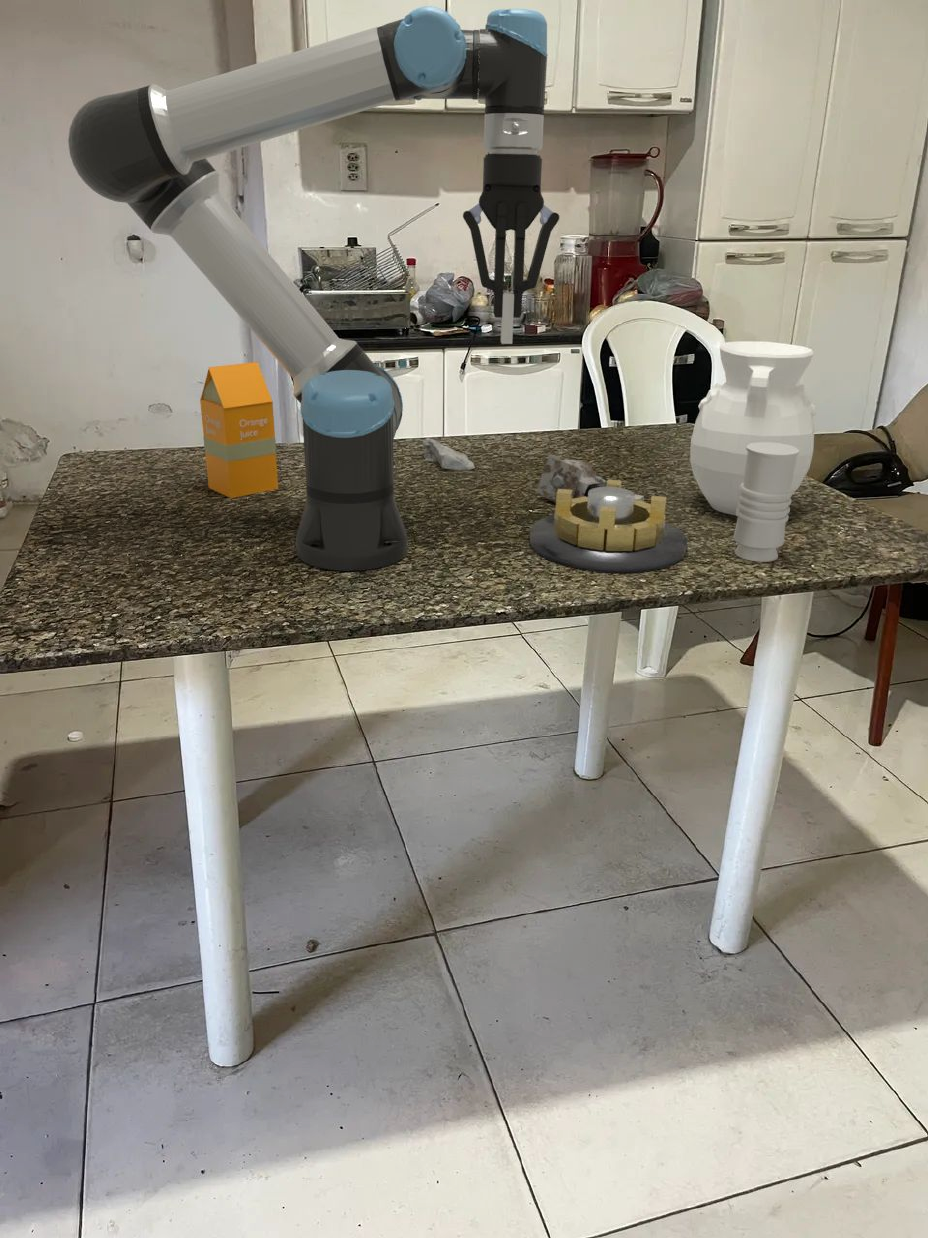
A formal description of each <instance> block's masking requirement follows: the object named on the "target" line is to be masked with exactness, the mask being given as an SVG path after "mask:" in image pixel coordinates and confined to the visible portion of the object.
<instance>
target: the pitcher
mask: <svg viewBox="0 0 928 1238" xmlns="http://www.w3.org/2000/svg"><path fill="white" fill-rule="evenodd" d="M719 351H720V361H721V363H722V366H723V367H722V368H723V371H724V375H725V382H724V383H723V384H720V383H715V384H714V386H713V388H711V389H709V390H708V392H707V394H706V396H705V397H703V399H701V400H700V402H699V404H698V409H699V410H698V411H699V413H698V414H697V417H696V419H695V423H694V426H693V427H694V428H693V431H692V434H691V439H690V449H689V450H690V454H689V462H690V466H691V469H692V474H693V477H694V480H695V481H696V483H697V485H698V487H699V490H700V492H701V493H702V495H703V496H704V497H705V499H706V501H707V502H708V504H709V505H710V506H711V508H712V509H714V510H715V511H717V512H720V513H723V514H726V515H727V514H728V515H732V516H736V509H737V502H738V495H739V488H740V485H741V484H742V483H743V481H744V474H745V467H746V461H747V454H748V451H747V450H746V446H747V445H748V444H751V443H756V442H771V443H781V444H786V445H790V446H793V447H796V448H797V449H799V454H798V455H797V456H796V461H795V467H794V473H793V479H792V485H791V489H792V491H793V493H795V492H796V491H797V490H798V489H799V488H800V487H801V485H802V483H803V481H804V479H805V477H806V476H807V473H808V471H809V470H810V466H811V464H812V459H813V454H814V449H815V448H814V447H815V446H814V444H815V443H814V441H815V427H814V426H815V425H814V416H816V415H817V411H816V409H817V408H816V405H815V404H813V403H812V398H811V396H810V394H809V393H807V392H806V391H805V385H804V383H803V384H798V382H799V381H800V379H801V378H802V376H803V375H804V372H805V371H806V370H807V368H808V367H809V365H810V363H811V361H812V358H813V356H814V354H815V352H814V350H813V349H811V348H809V347H806V346H803V345H797V344H789V343H782V342H775V341H774V342H773V341H755V340H753V341H751V340H750V341H748V340H745V341H744V340H743V341H727V342H723V343H721V345H720V346H719ZM797 384H798V385H797Z"/></svg>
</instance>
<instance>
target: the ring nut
mask: <svg viewBox="0 0 928 1238" xmlns="http://www.w3.org/2000/svg"><path fill="white" fill-rule="evenodd" d="M606 487H617V488H622V480H619V479H616V480H615V479H608V480H607V486H606ZM650 498H651V499H650V503H648V502H645V501H644V502H643V501H638V500H635V499H634V508H633V518H632V524H630V525H615V516H616V507H606V506H601V509H600V518H599V523H593V522H587V521H586V516H587V503H588V497H579V498H573V499H572V490H567V489H558V491H557V496H556V503H555V507H554V514H555V515H554V514H553V515H554V530H555V532H556V535H557V537H559V538H560V539H562V540H564V541H567V542H569V543H571V544H573V545H578V546H579V547H585V548H590V549H596V550H602V551H603V550H604V549H605V550H606V551H632V549H633V550H640V549H644V548H648V547H652V546H655V545H657V544H658V543H659V542H660V541H661V540H662V538H663V537H664V528H665V522H666V520H667V519H666V517H667V516H666V514H665V513H666V505H667V496H661V495H660V496H657V495H651V497H650Z"/></svg>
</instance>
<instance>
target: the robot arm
mask: <svg viewBox="0 0 928 1238" xmlns="http://www.w3.org/2000/svg"><path fill="white" fill-rule="evenodd" d="M547 64H548V22H547V19H546V18H545V16H544V15H543V14H542V13H541V12H539V11H537V10H532V9H526V8H508V9H506V8H505V9H504V8H501V9H495V10H492V11H490V13H488V16H487V19H486V24H485V28H480V29H461V25H460V24H459V23H458V22H457V21H456V19H455V18H454V17H453V16H452V15H451V13H448V12H447V11H446V10H444V9H442V8H440V7H437V6H432V5H430V6H429V5H425V6H421V7H417V8H414V9H413V10H412V11H410V12H409V13H408V14H407V15H405V16H404V18H402V19H398V20H394V21H392V22H389V23H386V24H383V25H381V26H375V27H372V28H369V29H365V30H362V31H358V32H355V33H353V34H349V35H346V36H343V37H339V38H336V39H334V40H330V41H326V42H323V43H320V44H317V45H314V46H310V47H307V48H304V49H300V50H297V51H296V50H295V51H294V52H290V53H286V54H284V55H281V56H277V57H273V58H270V59H268V60H267V59H266V60H264V61H260V62H257V63H254V64H250V65H248V66H244V67H241V68H238V69H236V70H235V69H234V70H231V71H228V72H225V73H222V74H218V75H216V76H213V77H212V76H211V77H209V78H205V79H202V80H199V81H195V82H192V83H189V84H185V85H182V86H180V87H176V88H173V89H172V88H171V89H169V90H167V89H165V88H163V87H161V86H159V85H157V83H153V84H149V85H146V86H144V87H143V86H142V87H139V88H136V89H132V90H126V91H123V92H119V93H118V92H117V93H113V94H106V95H103V96H99V97H96V98H94V99H91V100H89V101H88V102H87V103H85V104H84V105H82V106H81V107H80V109H78V111H77V112H76V113H75V115H74V117H73V119H72V122H71V124H70V128H69V132H68V133H69V134H68V140H67V142H68V150H69V156H70V159H71V163H72V164H73V167H74V168H75V171H76V173H77V174H78V176H79V177H80V178H81V179H82V181H83V182H84V183H85V184H86V185H87V186H88V187H89V188H90V189H91V190H92V191H93V192H95V193H96V194H97V195H99V196H101V197H103V198H106V199H108V200H109V201H113V202H115V203H116V202H117V203H125V204H127V205H128V206H129V207H130V208H131V209H132V211H133V212H134V213H135V214H136V215H137V216H138V217H139V218H140V220H142V222H143V223H144V224H145V226H147V228H148V229H149V230H150V231H151V232H152V233H153V234H158V235H164V236H165V235H166V236H169V237H171V238H172V240H174V242H175V243H176V244H177V245H178V246H179V247H180V249H181V250H182V251H183V252H184V254H185V255H186V256H187V257H188V259H190V260H191V262H193V264H194V265H196V267H197V268H198V269H199V271H200V272H201V273H202V274H203V275H204V277H206V279H207V280H208V281H209V283H210V284H211V285H212V286H213V287H214V288H215V289H216V290H217V292H218V293H219V294H220V295H221V296H222V297H223V299H224V300H225V301H226V302H227V303H228V305H229V306H230V307H231V308H232V309H233V311H234V312H235V313H236V314H237V315H238V316H239V317H240V319H242V321H243V322H244V323H245V324H246V326H247V327H249V329H250V330H251V331H252V332H253V334H254V335H255V336H256V338H258V340H259V341H260V342H261V343H262V344H263V345H264V346H265V347H266V349H267V350H268V351H269V352H270V353H271V355H272V356H273V357H274V358H275V359H276V360H277V361H278V363H279V364H280V365H281V366H282V368H284V369H285V371H286V372H287V373H288V375H290V377H291V378H292V381H293V393H292V394H293V396H294V398H295V399H296V400H297V401H298V402H299V403H300V408H299V409H300V414H301V417H302V431H303V432H302V433H303V434H302V435H303V436H302V437H303V450H304V451H303V452H304V468H305V469H304V470H305V487H306V501H305V503H304V508H303V511H302V515H301V518H300V521H299V525H298V528H297V532H296V536H295V546H296V547H295V549H296V555H297V557H298V559H299V560H300V561H301V562H302V563H305V564H308V565H310V566H313V567H315V568H319V569H325V570H330V571H331V570H332V571H345V572H347V571H350V572H353V571H354V572H355V571H365V570H366V571H367V570H372V569H373V570H374V569H378V568H384V567H387V566H390V565H392V564H395V563H397V562H399V561H400V560H402V559H403V558H405V557H406V555H407V553H408V534H407V531H406V528H405V525H404V521H403V519H402V516H401V513H400V510H399V507H398V505H397V502H396V499H395V490H394V488H395V486H394V482H395V478H394V477H395V475H394V472H395V471H394V468H395V467H394V466H395V465H394V440H395V437H396V433H397V431H398V429H399V428H400V424H401V422H402V419H403V411H404V409H403V408H404V406H403V403H404V402H403V397H402V393H401V392H400V387H399V386H398V383H397V382H396V380H395V379H394V377H393V376H392V375H391V374H390V372H388V371H387V370H385V369H384V368H383V367H381V366H379V364H376V363H374V362H373V360H372V359H371V358H370V357H369V356H368V354H367V353H366V352H365V351H364V350H363V349H362V347H361V346H360V345H359V344H358V342H357V341H356V340H349V339H343V338H339V337H338V335H337V334H336V333H335V332H334V330H333V329H332V328H331V327H330V325H329V324H328V323H327V321H325V320H324V318H323V317H322V316H321V314H320V313H319V312H318V311H317V310H316V309H315V307H314V306H313V305H312V304H311V302H310V301H309V300H308V299H307V297H305V295H304V294H303V293H302V291H301V290H300V289H299V287H297V285H296V284H295V283H294V282H293V281H292V279H291V278H290V277H289V276H288V275H287V273H286V272H285V270H283V268H282V267H281V266H280V265H279V264H278V262H277V261H276V260H275V259H274V258H273V256H272V255H271V254H270V253H269V252H268V250H267V249H266V248H265V247H264V245H263V244H262V243H261V242H260V240H259V239H258V238H257V237H256V236H255V234H254V233H253V232H252V231H251V229H249V227H248V226H247V225H246V224H245V222H244V221H243V220H242V219H241V217H240V216H239V215H238V214H237V213H236V212H235V211H234V209H233V208H232V207H231V206H230V204H229V203H228V201H226V199H225V198H224V197H223V196H222V194H221V193H220V190H219V187H220V186H219V182H220V177H219V176H220V174H219V172H217V170H216V169H215V168H214V167H213V165H212V164H211V163H210V162H209V161H208V158H211V157H215V156H218V155H222V154H225V153H228V152H232V151H234V150H239V149H241V148H245V147H247V146H252V145H254V144H258V143H261V142H265V141H268V140H271V139H274V138H279V137H282V136H284V135H288V134H291V133H294V132H297V131H301V130H302V131H303V130H304V129H307V128H311V127H315V126H318V125H321V124H325V123H328V122H331V121H334V120H338V119H341V118H343V117H344V118H345V117H347V116H350V115H354V114H357V113H360V112H365V111H367V110H371V109H374V108H378V107H381V106H384V105H387V104H390V103H393V102H397V101H403V100H406V99H412V100H416V101H421V100H424V99H425V100H428V99H429V100H474V101H476V100H477V101H478V100H484V103H485V104H484V105H485V106H484V107H485V108H484V128H483V132H484V133H483V136H484V137H483V148H484V149H485V150H488V152H487V154H485V155H484V157H483V169H482V171H483V173H482V174H483V175H482V177H483V179H482V192H481V194H480V196H479V199H478V203H477V204H476V205H475V206H473V207H471V208H470V209H469V210H465V211H464V212H463V213H462V219H463V220H464V222H465V223H466V225H467V227H468V229H469V230H470V235H471V240H472V241H471V242H472V244H473V251H474V254H475V255H474V256H475V259H476V265H477V269H478V274H479V279H480V280H479V281H480V283H481V286H482V287H483V288H485V289H488V290H490V291H491V292H493V306H492V307H493V310H492V312H493V315H494V318H499V319H500V318H501V319H500V320H501V321H500V324H501V325H500V343H501V345H505V344H506V345H508V344H509V345H512V344H513V332H514V319H515V318H516V319H517V318H518V319H520V318H521V316H522V314H523V295H524V293H525V292H526V291H529V290H533V289H535V288H536V287H537V283H538V279H539V277H540V273H541V269H542V266H543V263H544V258H545V255H546V252H547V251H546V250H547V248H548V243H549V241H550V236H551V233H552V231H553V230H554V228H555V227H556V225H557V223H558V222H559V221H560V214H559V213H557V212H553V211H552V210H551V209H550V208H549V207H547V206H546V205H545V199H544V197H543V195H542V191H541V188H542V166H543V164H542V163H543V158H541V157H542V156H541V155H538V153H539V151H541V150H542V149H543V143H544V141H543V140H544V139H543V138H544V121H545V118H544V116H545V115H544V114H545V101H546V100H545V99H546V83H547V66H548V65H547ZM482 212H483V213H484V216H485V217H486V218H487V220H488V222H489V223H490V225H491V226H492V228H494V229H495V233H494V234H495V241H494V243H495V244H494V250H495V251H494V275H493V276H494V277H493V279H491V278H490V274H489V268H488V263H487V260H486V259H487V258H486V254H485V247H484V245H483V238H482V234H481V233H482V232H481V230H480V226H479V224H480V223H481V222H482V216H481V214H482ZM539 213H540V218H539V223H540V225H541V227H540V230H539V234H538V236H537V240H536V244H535V248H534V252H533V256H532V257H531V258H532V259H531V263H530V265H529V268H528V269H529V270H528V274H527V277H526V279H524V269H525V267H524V266H525V244H526V243H525V242H526V230H527V229H529V227H530V226H531V225H532V223H533V222H534V220H536V219H537V216H538V215H539ZM507 231H514V232H513V233H514V236H513V237H514V239H513V240H514V241H513V242H514V245H513V268H512V269H513V274H512V275H513V276H512V291H504V289H505V287H504V286H505V285H504V284H505V261H506V259H505V256H506V255H505V254H506V238H507V237H506V236H507Z"/></svg>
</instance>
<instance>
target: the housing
mask: <svg viewBox="0 0 928 1238" xmlns="http://www.w3.org/2000/svg"><path fill="white" fill-rule="evenodd" d="M634 499H635V500H638V501H643V502H645V501H644V499H645V495H641V494H635V493H634V492H633V491H632V490H629V489H626V488H622V487H621V488H617V487H598V488H593V489H591V490H589V491H588V503H587V516H586V521H587V522H593V523H599V518H600V509H601V506H606V507H616V516H615V525H630V524H632V518H633V508H634ZM554 515H555V513H553V514H550V515H548V516H545V517H543V518H541V519H538V520H537V521H536V522H534V523H533V524H532V525H531V527H530V530H529V531H530V532H529V545H530V547H531V548H532V550H533V551H534V553H536V554H538V555H539V556H540V557H543V558H544V559H547V560H548V561H550V562H553V563H556V564H559V565H562V566H565V567H570V568H573V569H578V570H583V571H589V572H590V571H591V572H598V573H608V574H610V573H611V574H632V573H634V574H636V573H645V572H651V571H658V570H661V569H665V568H668V567H672V566H673V565H675V564H677V562H678V563H679V562H680V561H682V560H683V559H684V558H685V556H686V554H687V545H688V539H687V535H685V533H684V532H683V531H682V530H680V529H679V528H677V527H676V526H675V525H672V524H670V523H669V522H666V521H665V528H664V537H663V538H662V540H661V541H660V542H659V543H658V544H657V545H655V546H652V547H648V548H644V549H640V550H633V549H632V551H606V550H605V549H604V550H603V551H602V550H596V549H590V548H585V547H579V546H578V545H573V544H571V543H569V542H567V541H564V540H562V539H560V538H559V537H557V535H556V532H555V530H554Z"/></svg>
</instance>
